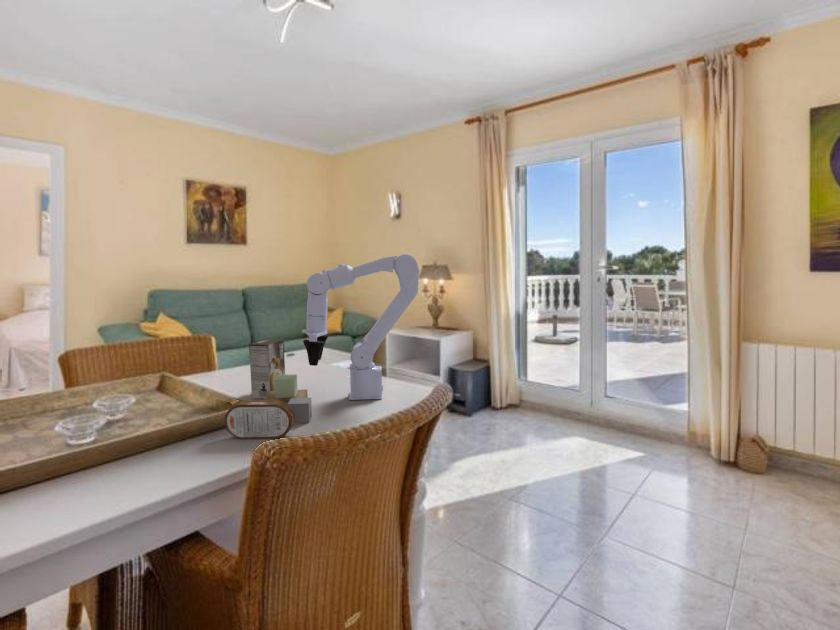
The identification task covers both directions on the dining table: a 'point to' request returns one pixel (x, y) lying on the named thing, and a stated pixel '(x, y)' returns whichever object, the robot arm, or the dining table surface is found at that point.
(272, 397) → the walnut base
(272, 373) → the coffee box
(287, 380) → the green cube
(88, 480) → the dining table surface
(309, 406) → the grey cube
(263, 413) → the tin
